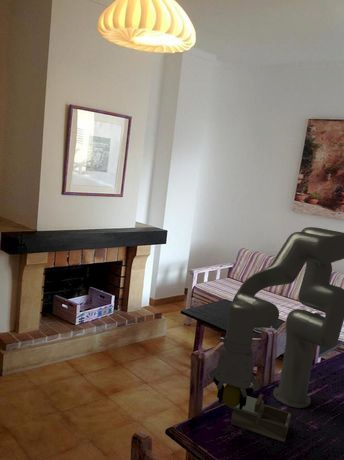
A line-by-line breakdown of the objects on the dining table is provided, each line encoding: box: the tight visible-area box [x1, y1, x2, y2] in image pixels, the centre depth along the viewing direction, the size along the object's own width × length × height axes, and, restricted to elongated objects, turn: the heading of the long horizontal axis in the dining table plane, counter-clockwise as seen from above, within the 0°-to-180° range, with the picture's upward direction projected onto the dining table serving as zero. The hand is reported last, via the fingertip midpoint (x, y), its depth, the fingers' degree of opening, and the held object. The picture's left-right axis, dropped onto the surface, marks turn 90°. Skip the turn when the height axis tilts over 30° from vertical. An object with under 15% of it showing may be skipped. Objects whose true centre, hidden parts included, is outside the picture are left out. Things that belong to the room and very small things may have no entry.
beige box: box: [230, 403, 292, 443], centre depth 126 cm, size 9×16×4 cm, turn 67°
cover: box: [231, 393, 264, 417], centre depth 127 cm, size 9×8×3 cm
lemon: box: [222, 384, 242, 409], centre depth 120 cm, size 6×6×8 cm
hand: (231, 403), depth 121 cm, fingers closed on lemon, 5 cm apart
